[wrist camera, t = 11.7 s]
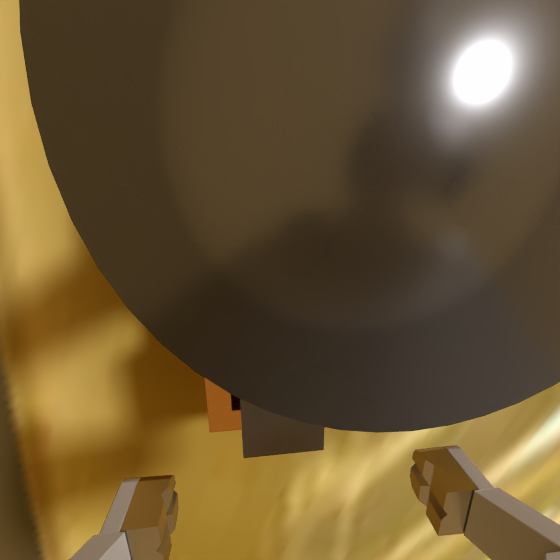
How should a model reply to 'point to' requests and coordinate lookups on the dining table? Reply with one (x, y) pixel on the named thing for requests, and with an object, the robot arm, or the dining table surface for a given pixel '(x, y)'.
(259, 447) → the dark brown upright block
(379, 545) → the dining table surface
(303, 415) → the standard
